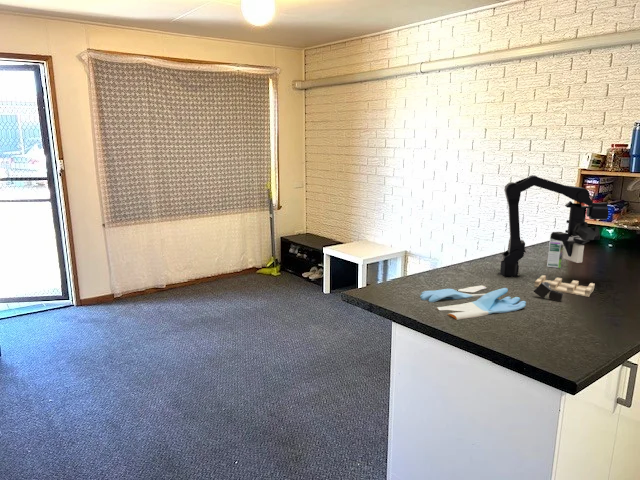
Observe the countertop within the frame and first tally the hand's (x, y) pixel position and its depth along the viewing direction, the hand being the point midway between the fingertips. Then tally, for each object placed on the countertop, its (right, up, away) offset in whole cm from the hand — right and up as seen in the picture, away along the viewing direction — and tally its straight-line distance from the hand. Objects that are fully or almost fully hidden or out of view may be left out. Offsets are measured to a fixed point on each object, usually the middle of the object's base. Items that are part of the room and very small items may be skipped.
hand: (572, 256), depth 190 cm
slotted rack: (-8, -12, -9) cm, 17 cm away
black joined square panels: (-21, -15, -21) cm, 33 cm away
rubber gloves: (-50, -16, -24) cm, 57 cm away
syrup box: (+4, -6, +24) cm, 25 cm away
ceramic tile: (0, -2, 0) cm, 2 cm away
